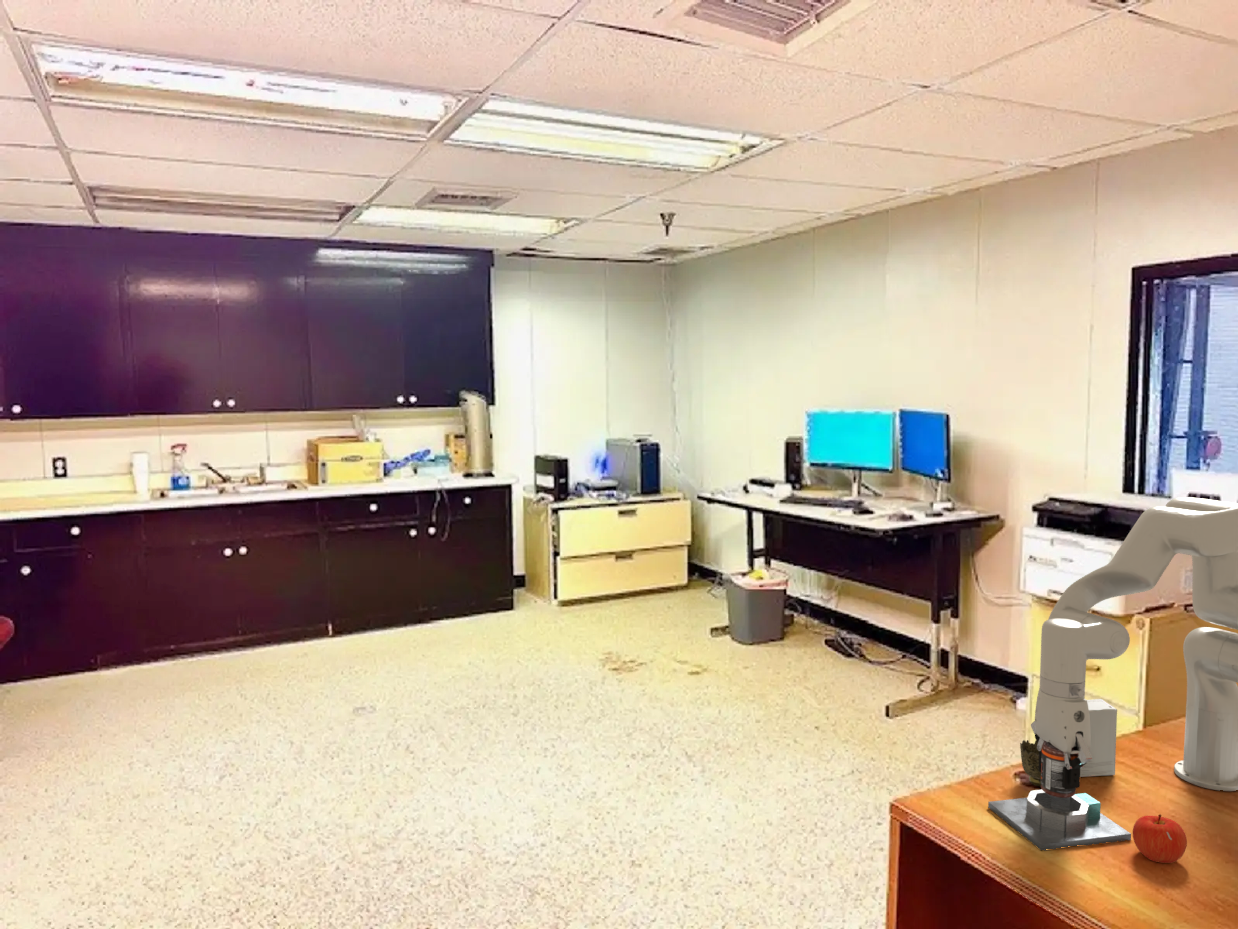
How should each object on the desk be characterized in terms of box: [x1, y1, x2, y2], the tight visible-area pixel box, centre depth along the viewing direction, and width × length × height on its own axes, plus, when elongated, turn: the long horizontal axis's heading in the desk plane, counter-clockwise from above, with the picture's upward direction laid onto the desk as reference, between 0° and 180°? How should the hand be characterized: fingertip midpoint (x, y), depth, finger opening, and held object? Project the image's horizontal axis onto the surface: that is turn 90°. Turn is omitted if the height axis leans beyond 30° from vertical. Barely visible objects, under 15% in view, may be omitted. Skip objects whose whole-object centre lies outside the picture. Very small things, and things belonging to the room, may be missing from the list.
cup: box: [1019, 739, 1041, 787], centre depth 180 cm, size 8×7×8 cm
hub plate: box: [988, 789, 1132, 851], centre depth 164 cm, size 18×16×4 cm
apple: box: [1132, 813, 1188, 864], centre depth 152 cm, size 8×8×8 cm
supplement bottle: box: [1040, 740, 1077, 798], centre depth 163 cm, size 6×6×11 cm
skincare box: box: [1080, 698, 1118, 778], centre depth 185 cm, size 8×6×15 cm
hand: (1058, 778), depth 164 cm, fingers closed on supplement bottle, 6 cm apart
